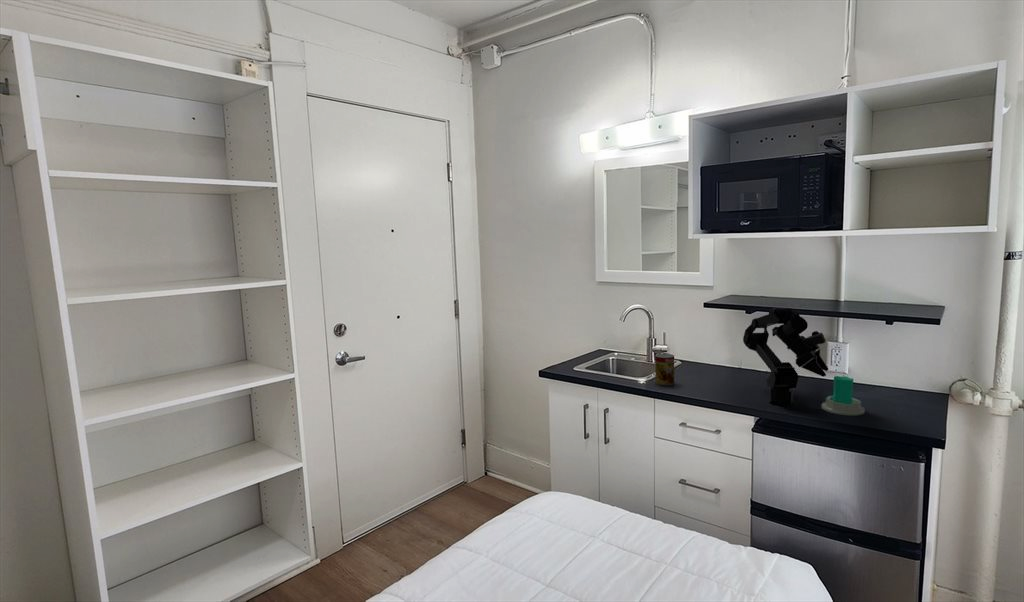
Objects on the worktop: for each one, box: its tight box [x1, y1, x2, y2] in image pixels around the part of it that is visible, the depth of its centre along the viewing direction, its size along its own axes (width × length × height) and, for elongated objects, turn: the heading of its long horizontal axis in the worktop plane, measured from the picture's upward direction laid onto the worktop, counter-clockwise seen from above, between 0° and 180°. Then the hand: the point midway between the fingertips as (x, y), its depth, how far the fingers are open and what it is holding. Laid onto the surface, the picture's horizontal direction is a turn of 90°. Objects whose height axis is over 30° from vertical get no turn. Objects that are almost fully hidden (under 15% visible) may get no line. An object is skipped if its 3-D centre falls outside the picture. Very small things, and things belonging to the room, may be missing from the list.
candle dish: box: [821, 395, 866, 417], centre depth 190 cm, size 13×13×4 cm
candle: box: [832, 373, 854, 404], centre depth 190 cm, size 6×6×12 cm
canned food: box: [654, 353, 675, 386], centre depth 231 cm, size 8×8×12 cm
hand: (826, 373), depth 189 cm, fingers open, 9 cm apart
